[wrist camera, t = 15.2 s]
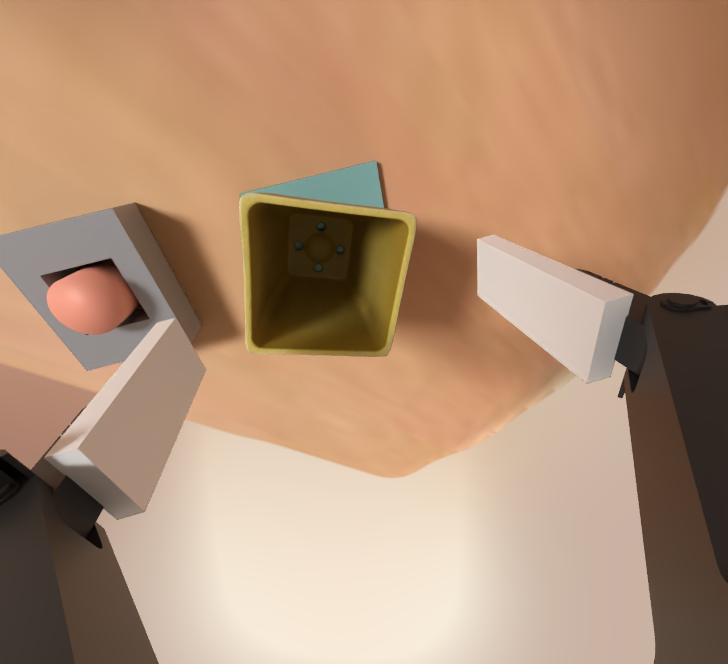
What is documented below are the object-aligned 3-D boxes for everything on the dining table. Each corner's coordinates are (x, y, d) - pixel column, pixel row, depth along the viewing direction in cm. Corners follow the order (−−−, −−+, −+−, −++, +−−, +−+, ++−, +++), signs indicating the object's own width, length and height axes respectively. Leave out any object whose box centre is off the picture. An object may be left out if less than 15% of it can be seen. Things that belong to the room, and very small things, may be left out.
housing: (18, 230, 21) (-22, 240, 19) (135, 202, 22) (112, 208, 19) (108, 350, 26) (87, 371, 24) (202, 325, 27) (191, 343, 24)
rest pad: (240, 193, 22) (239, 194, 22) (375, 160, 23) (376, 160, 22) (286, 315, 27) (286, 316, 27) (396, 286, 28) (397, 287, 27)
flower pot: (366, 303, 28) (390, 359, 20) (263, 296, 26) (245, 355, 18) (382, 196, 24) (420, 214, 16) (261, 179, 22) (237, 190, 14)
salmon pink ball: (73, 267, 22) (30, 286, 19) (128, 253, 23) (96, 270, 19) (107, 315, 24) (74, 341, 21) (157, 302, 25) (133, 325, 21)
